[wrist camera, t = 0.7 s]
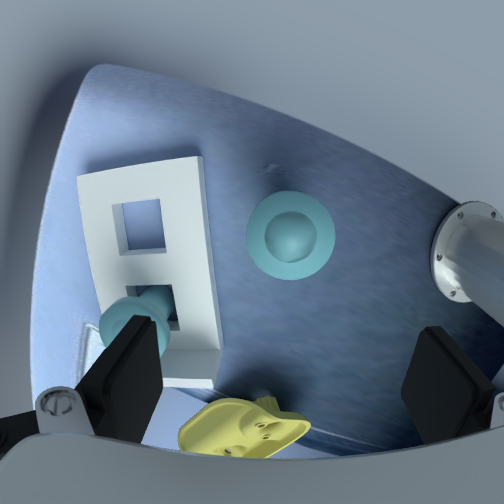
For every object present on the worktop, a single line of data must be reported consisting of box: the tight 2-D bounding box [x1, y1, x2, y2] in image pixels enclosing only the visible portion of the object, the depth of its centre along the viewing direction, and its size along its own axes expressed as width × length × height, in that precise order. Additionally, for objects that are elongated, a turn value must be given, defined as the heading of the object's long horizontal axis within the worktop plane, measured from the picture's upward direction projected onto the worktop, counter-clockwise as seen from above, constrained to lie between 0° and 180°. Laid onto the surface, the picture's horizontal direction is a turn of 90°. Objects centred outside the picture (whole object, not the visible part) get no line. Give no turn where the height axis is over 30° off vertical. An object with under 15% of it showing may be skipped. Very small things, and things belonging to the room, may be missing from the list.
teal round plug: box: [246, 190, 335, 280], centre depth 28 cm, size 7×7×9 cm
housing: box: [76, 156, 224, 388], centre depth 31 cm, size 14×22×8 cm, turn 4°
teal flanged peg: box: [99, 285, 175, 358], centre depth 31 cm, size 7×7×9 cm
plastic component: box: [178, 395, 311, 458], centre depth 39 cm, size 20×7×10 cm
